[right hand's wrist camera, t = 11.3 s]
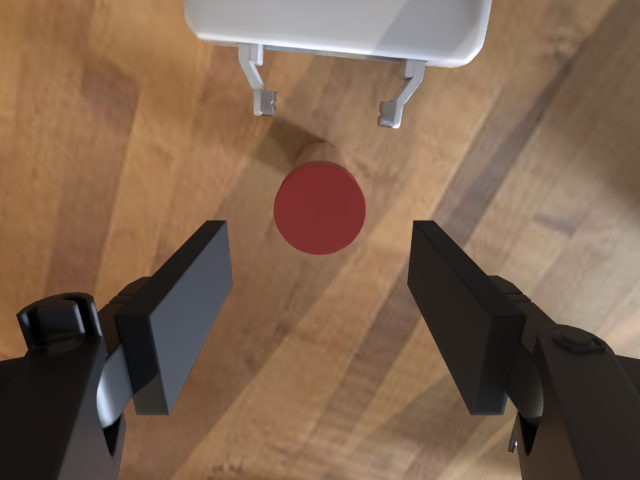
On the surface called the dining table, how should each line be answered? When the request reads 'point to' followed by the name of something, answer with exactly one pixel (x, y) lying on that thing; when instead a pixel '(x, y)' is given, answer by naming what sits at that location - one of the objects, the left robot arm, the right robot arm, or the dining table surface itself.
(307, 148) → the jar
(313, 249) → the lid
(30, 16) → the dining table surface
